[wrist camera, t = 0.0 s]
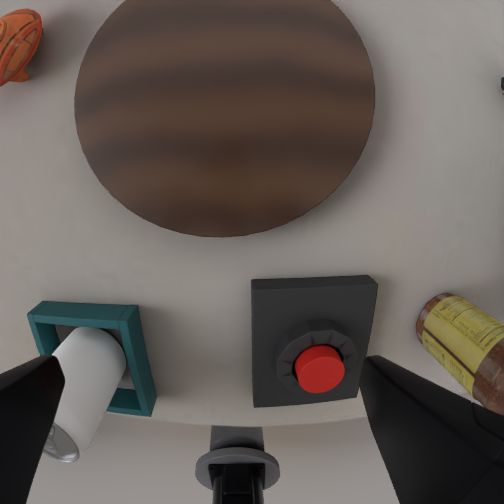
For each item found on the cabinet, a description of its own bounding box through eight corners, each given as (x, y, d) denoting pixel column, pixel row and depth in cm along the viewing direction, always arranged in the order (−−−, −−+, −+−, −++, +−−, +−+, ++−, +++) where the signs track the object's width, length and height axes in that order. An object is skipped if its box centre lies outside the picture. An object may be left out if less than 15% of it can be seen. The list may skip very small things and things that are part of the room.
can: (66, 359, 26) (12, 435, 15) (75, 311, 25) (5, 388, 13) (120, 387, 27) (82, 476, 16) (135, 342, 26) (88, 438, 14)
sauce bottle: (448, 341, 28) (556, 456, 9) (405, 345, 27) (515, 488, 8) (466, 286, 26) (602, 386, 7) (423, 285, 26) (575, 412, 6)
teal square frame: (156, 397, 28) (151, 416, 25) (70, 386, 27) (59, 402, 24) (137, 304, 25) (126, 321, 22) (42, 300, 24) (26, 313, 21)
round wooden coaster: (361, 228, 24) (374, 235, 21) (93, 235, 23) (79, 242, 21) (350, -12, 18) (359, -25, 16) (101, -3, 17) (91, -15, 15)
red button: (335, 377, 23) (341, 390, 22) (293, 381, 23) (297, 395, 22) (341, 342, 23) (348, 354, 21) (296, 346, 22) (300, 359, 21)
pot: (-12, 103, 18) (-53, 80, 12) (17, 39, 18) (-14, 9, 11) (40, 96, 19) (-3, 63, 12) (72, 27, 19) (43, -14, 12)
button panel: (350, 384, 28) (362, 409, 24) (252, 392, 28) (254, 421, 24) (368, 274, 25) (388, 292, 21) (251, 279, 25) (253, 299, 21)
